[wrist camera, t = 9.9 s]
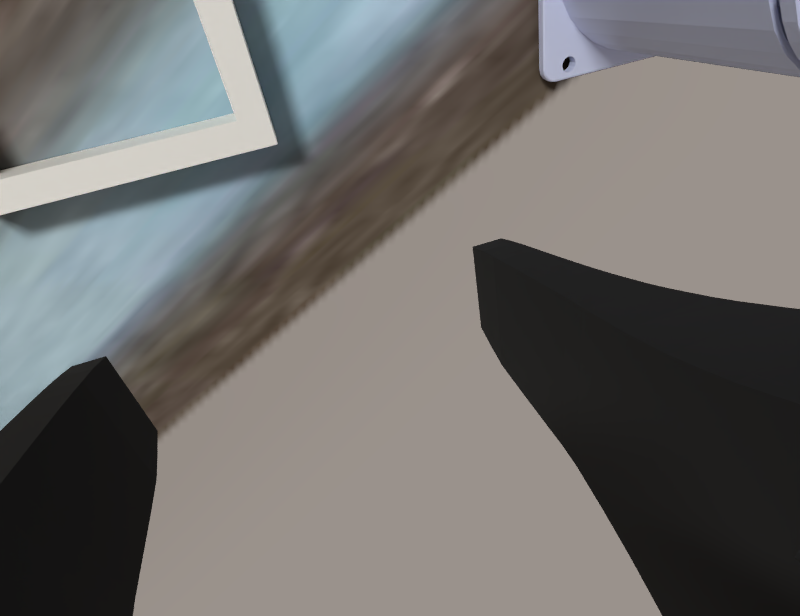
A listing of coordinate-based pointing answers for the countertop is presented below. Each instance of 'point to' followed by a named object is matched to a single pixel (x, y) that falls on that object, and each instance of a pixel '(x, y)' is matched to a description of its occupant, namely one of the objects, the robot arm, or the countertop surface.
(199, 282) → the countertop surface
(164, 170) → the frame
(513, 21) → the countertop surface
